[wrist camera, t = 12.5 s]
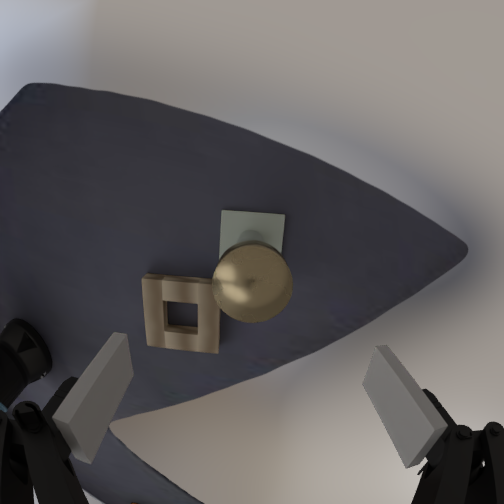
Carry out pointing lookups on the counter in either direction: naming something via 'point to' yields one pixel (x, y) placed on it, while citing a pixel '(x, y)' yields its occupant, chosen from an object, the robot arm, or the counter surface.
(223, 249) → the rubber mat
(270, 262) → the steel peg
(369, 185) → the counter surface
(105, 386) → the robot arm
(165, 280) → the plate
